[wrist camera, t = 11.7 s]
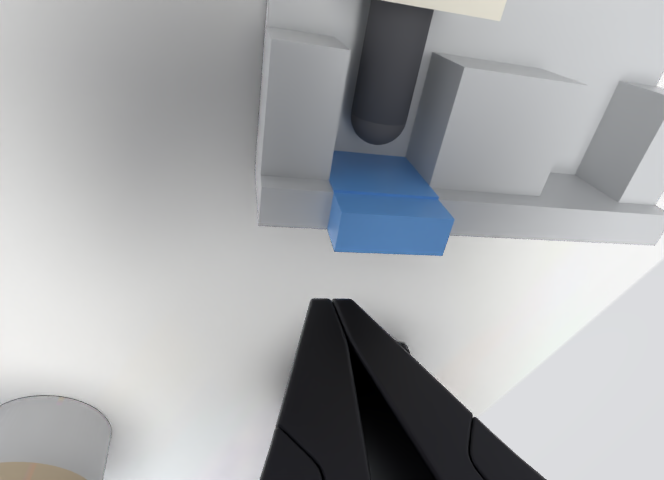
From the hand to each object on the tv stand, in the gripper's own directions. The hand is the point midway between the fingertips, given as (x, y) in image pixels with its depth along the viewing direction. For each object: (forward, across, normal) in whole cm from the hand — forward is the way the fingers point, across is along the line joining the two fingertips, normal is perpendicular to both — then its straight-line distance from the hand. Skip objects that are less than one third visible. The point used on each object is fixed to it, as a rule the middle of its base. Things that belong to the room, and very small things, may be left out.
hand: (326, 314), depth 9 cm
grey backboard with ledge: (+12, -8, -5) cm, 15 cm away
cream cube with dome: (+11, -4, -6) cm, 13 cm away
